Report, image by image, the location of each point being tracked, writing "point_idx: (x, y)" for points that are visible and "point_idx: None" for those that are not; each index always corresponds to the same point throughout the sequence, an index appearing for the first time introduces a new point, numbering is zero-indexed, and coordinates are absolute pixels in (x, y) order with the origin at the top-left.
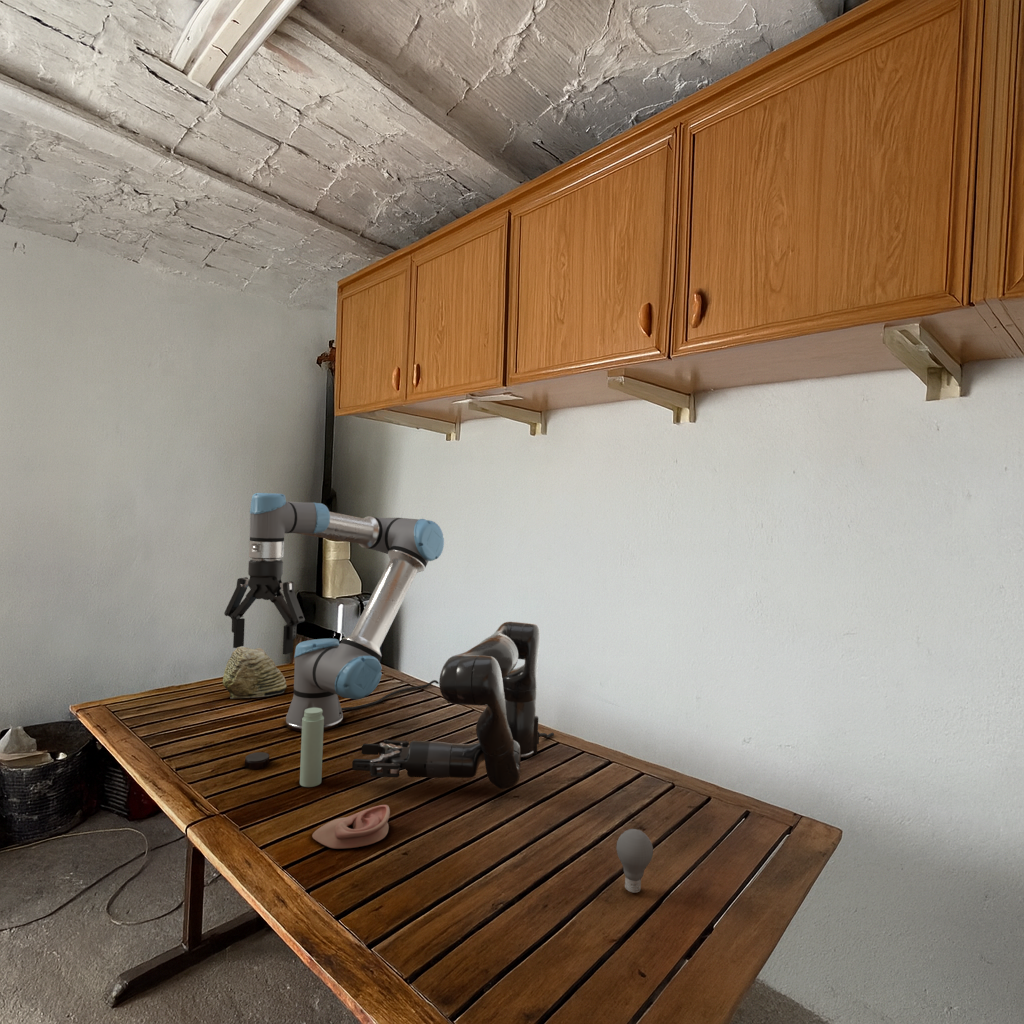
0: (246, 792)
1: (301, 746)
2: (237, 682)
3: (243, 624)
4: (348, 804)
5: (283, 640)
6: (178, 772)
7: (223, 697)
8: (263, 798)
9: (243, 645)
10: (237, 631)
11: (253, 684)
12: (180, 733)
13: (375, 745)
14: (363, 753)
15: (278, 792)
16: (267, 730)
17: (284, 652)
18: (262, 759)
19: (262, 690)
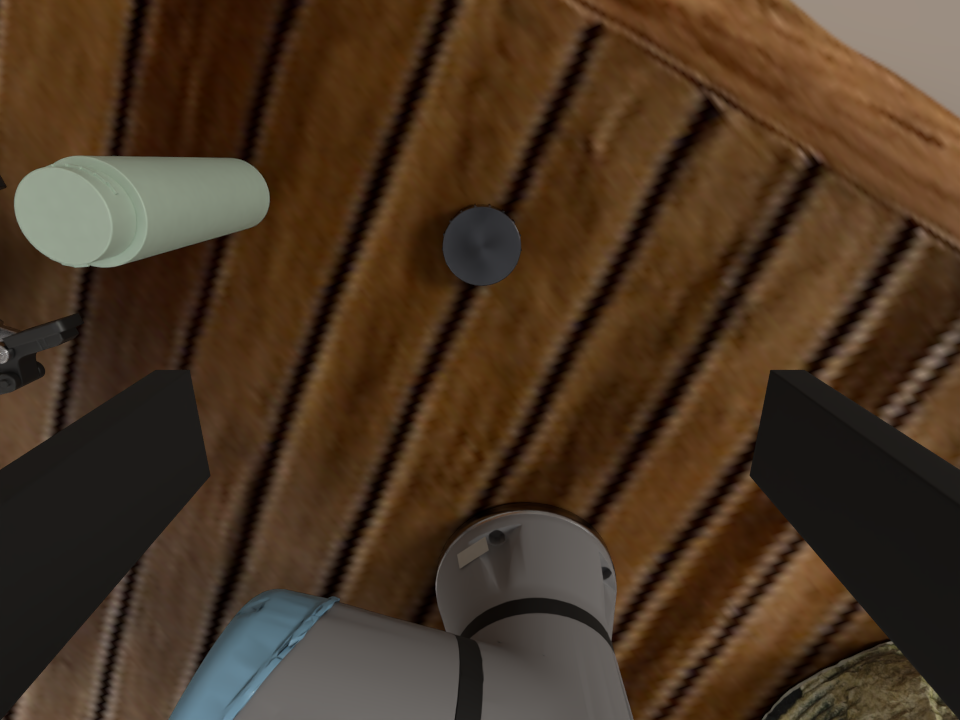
0: (369, 43)
1: (190, 168)
2: (909, 686)
3: (917, 645)
4: (20, 101)
5: (91, 437)
6: (690, 86)
7: None
8: (287, 26)
9: (751, 473)
10: (889, 480)
11: (854, 705)
12: (887, 359)
13: (11, 335)
14: (73, 314)
15: (275, 87)
16: (625, 478)
17: (156, 375)
18: (449, 232)
19: (815, 700)
